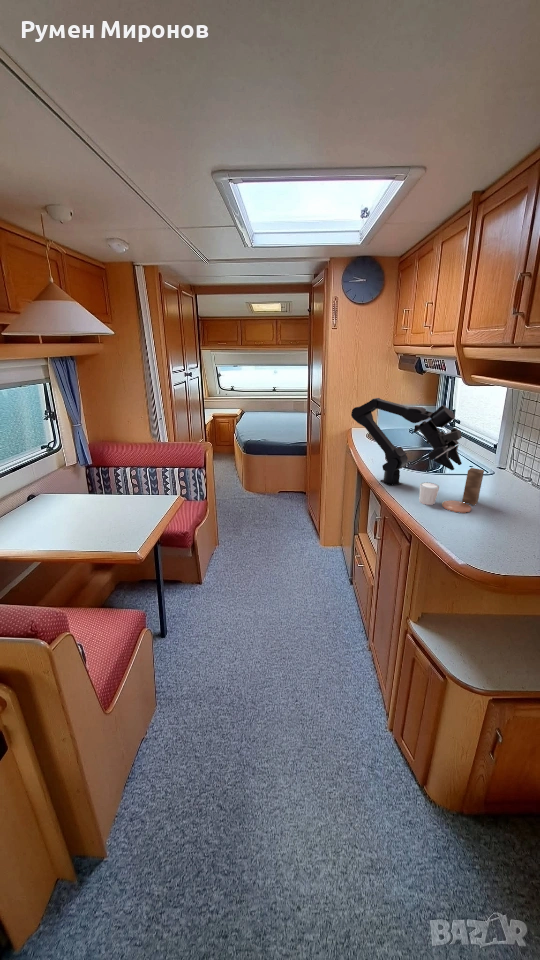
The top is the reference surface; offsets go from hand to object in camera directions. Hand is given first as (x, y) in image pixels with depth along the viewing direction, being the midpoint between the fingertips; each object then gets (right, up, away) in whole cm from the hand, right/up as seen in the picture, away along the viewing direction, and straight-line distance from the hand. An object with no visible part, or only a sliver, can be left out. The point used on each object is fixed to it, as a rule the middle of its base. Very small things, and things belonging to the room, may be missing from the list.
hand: (457, 467), depth 153 cm
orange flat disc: (-3, -15, -5) cm, 16 cm away
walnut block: (+5, -14, 0) cm, 14 cm away
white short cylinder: (-12, -14, -1) cm, 18 cm away
